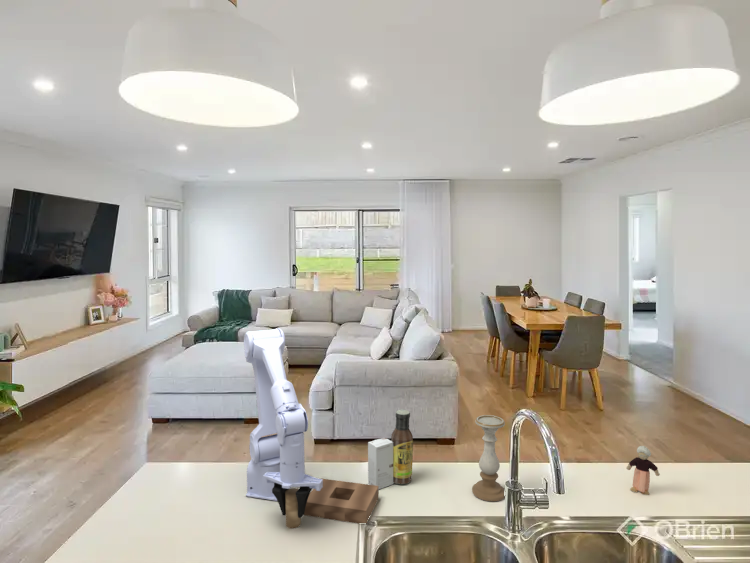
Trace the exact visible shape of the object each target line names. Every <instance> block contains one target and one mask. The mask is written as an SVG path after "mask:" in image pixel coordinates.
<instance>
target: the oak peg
mask: <svg viewBox="0 0 750 563" xmlns="http://www.w3.org/2000/svg"><path fill="white" fill-rule="evenodd" d="M298 489H299V488H298V487H291V488H289V489H288V490H287V491H286V492H285V506H286V515H285V527H286V528H288V529H291V530H292V529H297V528H299V527H300V526H301V525H302V518H298V502H297V497H296V492H297V491H298Z"/></svg>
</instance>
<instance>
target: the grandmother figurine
mask: <svg viewBox="0 0 750 563" xmlns="http://www.w3.org/2000/svg"><path fill="white" fill-rule="evenodd" d="M636 452H637V457H635V458H633V459H631V461H629V462H628V464H627V466H626V470H628V471H630V470H631V469H632V468H633V467H634V471H633V477H632V486H631V487H630V489H629V491H631V492H633V493H638V492H640V494H642V495H643V496H644V495H645V496H650V492H649V490H650V481H651V473H650V470H652V472H654V474H655V476H657V477H659V476H660V475H661V474H660V472H659V469H658V466H657V465H656V464H654V462H652V461H650V460H649V457H651V455H652V452H651V451H650V449H649V448H648V447H647V446H645V445H640V446H637V449H636Z"/></svg>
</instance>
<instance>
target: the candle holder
mask: <svg viewBox="0 0 750 563" xmlns="http://www.w3.org/2000/svg"><path fill="white" fill-rule="evenodd" d="M474 421H475V424H476V425H477V426H478V427H480V428H481V429H482V430H483V432H484V435H483V436H482V438H481V439H482V440H483V442H484V444H483V452H482V454H481V455H480V458H479V461H478V467H479V469H480V470H481V471H480V472H479V477H481V479H480V480H478V481H477V482H476V483H475V484H473V485H472V488H471V490H472V491H471V492H472V494H473V496H474V497H476V498H478V500H481V501H485V502H499V501H502V500H504V499H505V497H504V489H505V488H504V487H503V486H502V484H500V483H499V482H498V481H497V479H498V478H499V474H498V471H499V470H500V461H499V458H498V456H497V453H496V442H497V441H498V438H497V437H496V432H497V431H498V430H499V429H502V428H504V426H505V425H506V424H505V423H506V422H505V420H504V419H503V418H502V417H499V416H497V415H493V414H492V415H491V414H483V415H478V416H476V418H475V420H474Z"/></svg>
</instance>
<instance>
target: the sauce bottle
mask: <svg viewBox="0 0 750 563" xmlns="http://www.w3.org/2000/svg"><path fill="white" fill-rule="evenodd" d="M410 417H411V413H410V411H409V410H408V409H398V410H396V411H395V428H394V430H393V431H392V433H391V439H390V441H392V442H393V484H397V485H406V484H408V483H409V484H410V483H411V481H412V475H413V454H414V453H413V451H414V450H413V449H414V448H413V447H414V440H413V439H414V435H413V433H412V431H411V430H410Z"/></svg>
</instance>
